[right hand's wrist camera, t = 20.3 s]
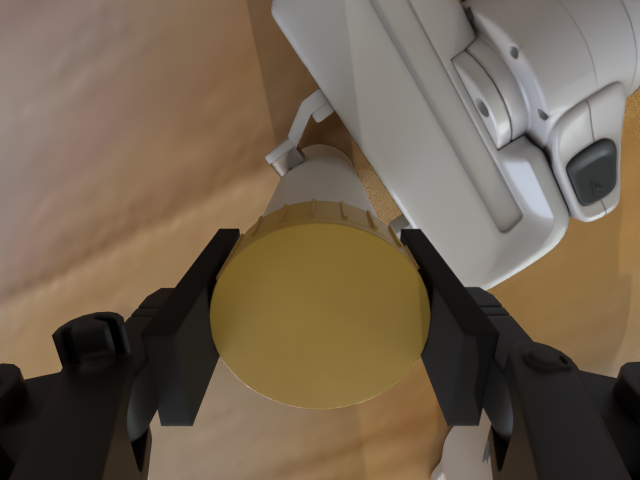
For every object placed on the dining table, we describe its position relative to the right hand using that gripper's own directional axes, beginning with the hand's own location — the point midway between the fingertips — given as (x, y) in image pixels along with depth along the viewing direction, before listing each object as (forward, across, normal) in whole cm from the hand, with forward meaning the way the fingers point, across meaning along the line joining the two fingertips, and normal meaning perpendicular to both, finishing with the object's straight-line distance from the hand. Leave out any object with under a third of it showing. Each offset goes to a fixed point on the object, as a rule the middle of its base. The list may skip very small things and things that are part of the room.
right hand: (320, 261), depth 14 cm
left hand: (+8, -1, -1) cm, 8 cm away
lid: (-4, 0, 0) cm, 4 cm away
